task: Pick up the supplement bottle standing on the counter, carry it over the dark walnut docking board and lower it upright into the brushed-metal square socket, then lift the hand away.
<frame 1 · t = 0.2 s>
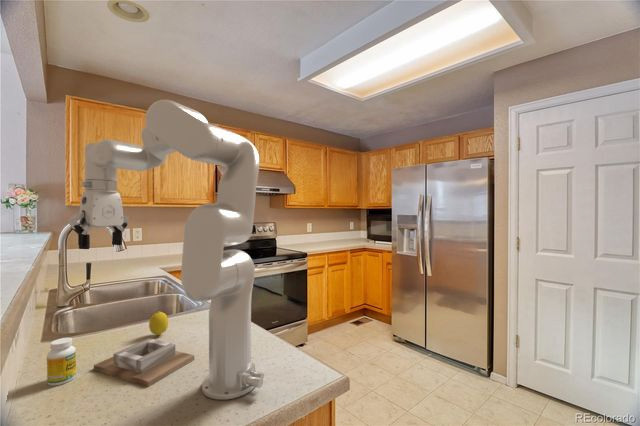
hand: (101, 246, 89), 31 cm above the countertop, tool pointing down, fingers open, 9 cm apart
dock board: (145, 364, 82), on the countertop
supplement bottle: (61, 381, 74), on the countertop
lemon: (159, 336, 101), on the countertop
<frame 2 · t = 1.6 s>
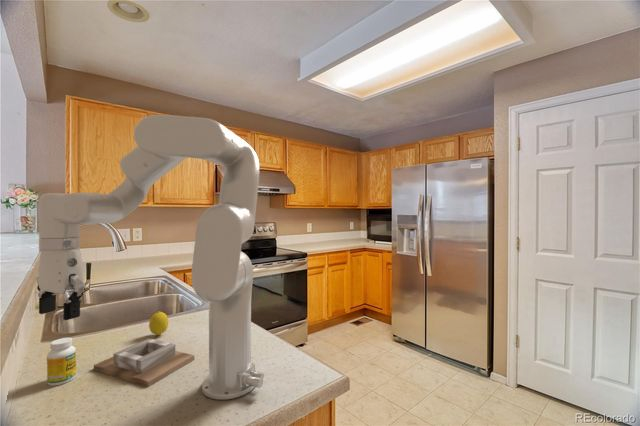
hand: (59, 315, 74), 16 cm above the countertop, tool pointing down, fingers open, 9 cm apart
nothing on the countertop moved.
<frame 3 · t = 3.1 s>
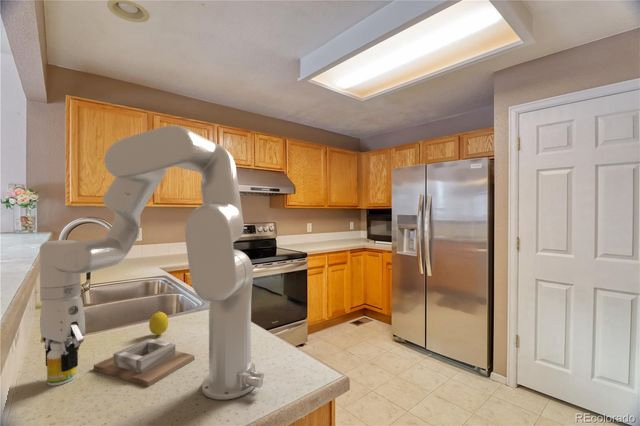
hand: (61, 365, 74), 4 cm above the countertop, tool pointing down, fingers closed on supplement bottle, 5 cm apart
supplement bottle: (61, 380, 74), on the countertop, touching gripper
everything else where it was.
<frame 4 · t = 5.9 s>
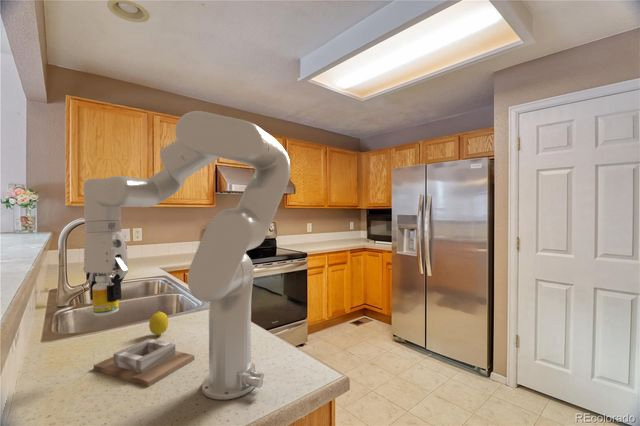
hand: (106, 298, 78), 19 cm above the countertop, tool pointing down, fingers closed on supplement bottle, 5 cm apart
supplement bottle: (106, 313, 78), point 15 cm above the countertop, touching gripper
everything else where it was.
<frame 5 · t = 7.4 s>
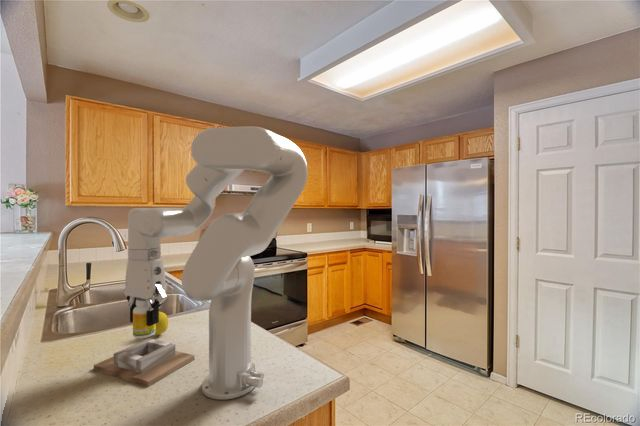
hand: (144, 321, 82), 11 cm above the countertop, tool pointing down, fingers closed on supplement bottle, 5 cm apart
supplement bottle: (144, 335, 82), point 8 cm above the countertop, touching gripper
everything else where it was.
when the fingers open (6 cm above the countertop, at t = 8.8 s): supplement bottle drops 1 cm, resting on dock board.
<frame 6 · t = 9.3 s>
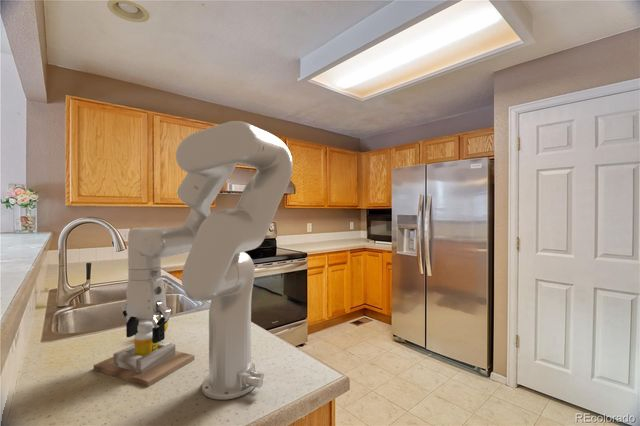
hand: (145, 338, 82), 7 cm above the countertop, tool pointing down, fingers open, 9 cm apart
supplement bottle: (146, 360, 82), point 1 cm above the countertop, touching dock board
everything else where it was.
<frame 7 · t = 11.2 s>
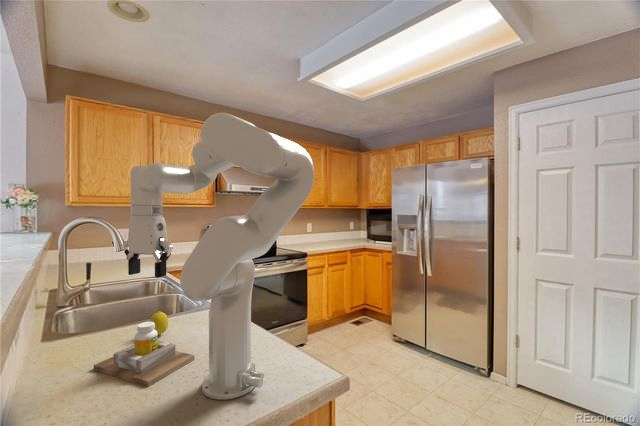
hand: (147, 275, 84), 23 cm above the countertop, tool pointing down, fingers open, 9 cm apart
nothing on the countertop moved.
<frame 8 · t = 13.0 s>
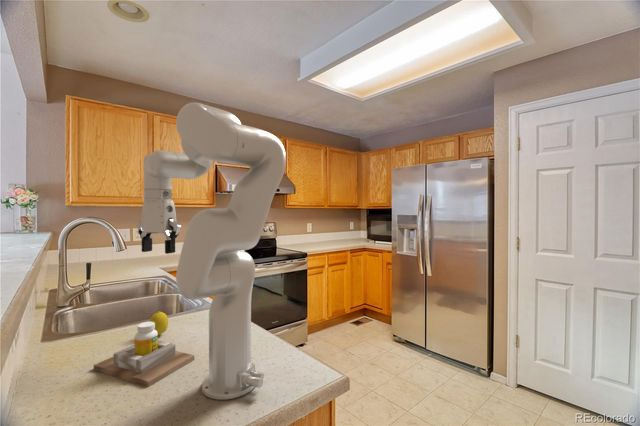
hand: (158, 252, 94), 28 cm above the countertop, tool pointing down, fingers open, 9 cm apart
nothing on the countertop moved.
at the end: supplement bottle 0.3 cm off-centre on the dock board, point 1.0 cm above the dock board's base; supplement bottle tilted 0°; the gripper is holding nothing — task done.
